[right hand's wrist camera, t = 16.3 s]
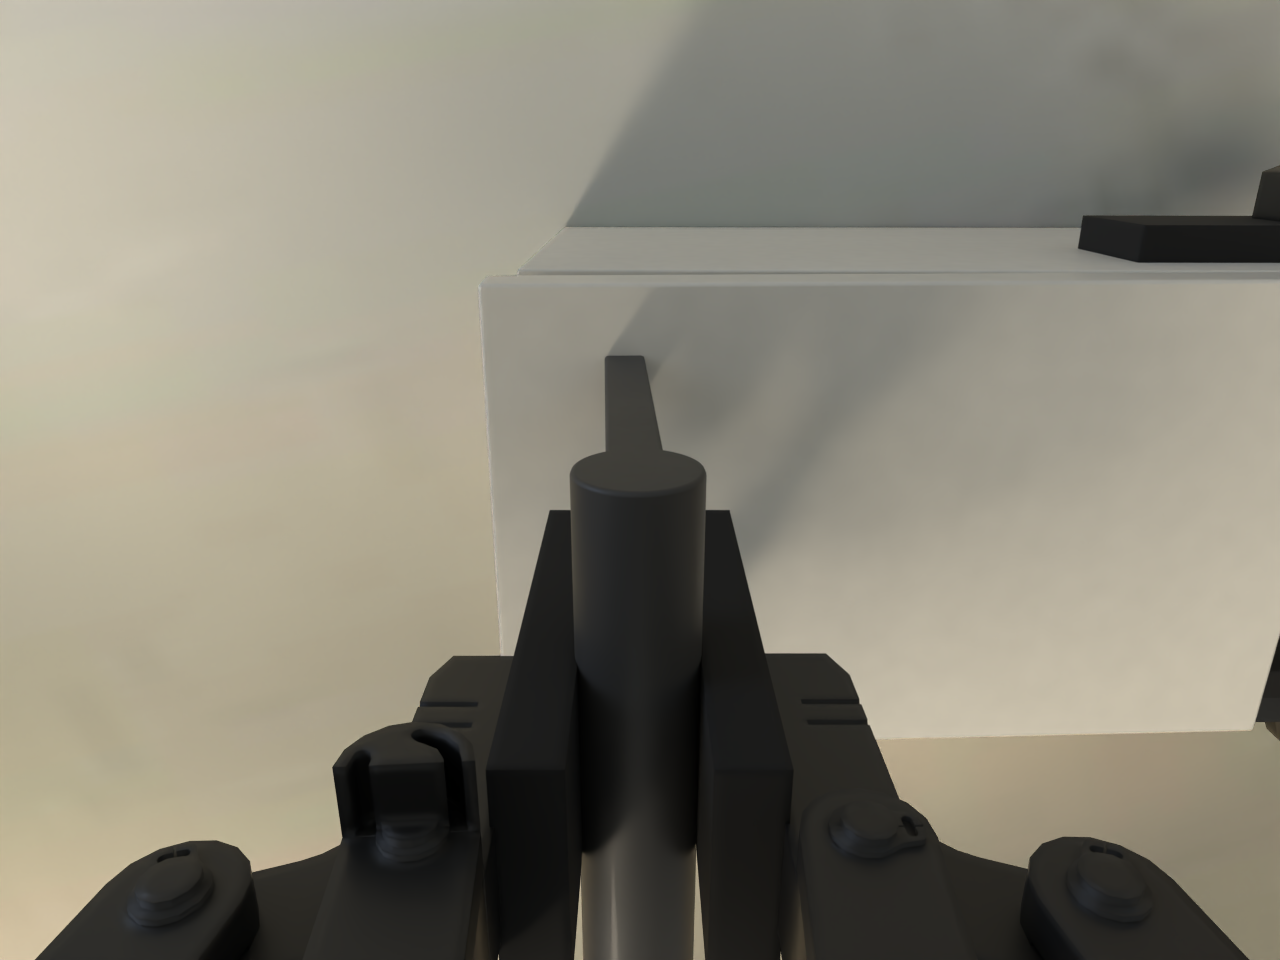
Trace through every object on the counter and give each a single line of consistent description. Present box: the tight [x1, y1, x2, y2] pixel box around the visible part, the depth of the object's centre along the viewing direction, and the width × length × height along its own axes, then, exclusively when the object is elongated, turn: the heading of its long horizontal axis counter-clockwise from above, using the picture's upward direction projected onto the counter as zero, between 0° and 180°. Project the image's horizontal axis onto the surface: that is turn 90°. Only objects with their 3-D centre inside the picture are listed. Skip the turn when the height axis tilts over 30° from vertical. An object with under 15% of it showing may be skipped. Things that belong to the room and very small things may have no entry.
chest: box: [517, 227, 1280, 275], centre depth 23 cm, size 15×10×10 cm, turn 90°
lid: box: [478, 272, 1280, 960], centre depth 14 cm, size 16×10×8 cm, turn 90°
